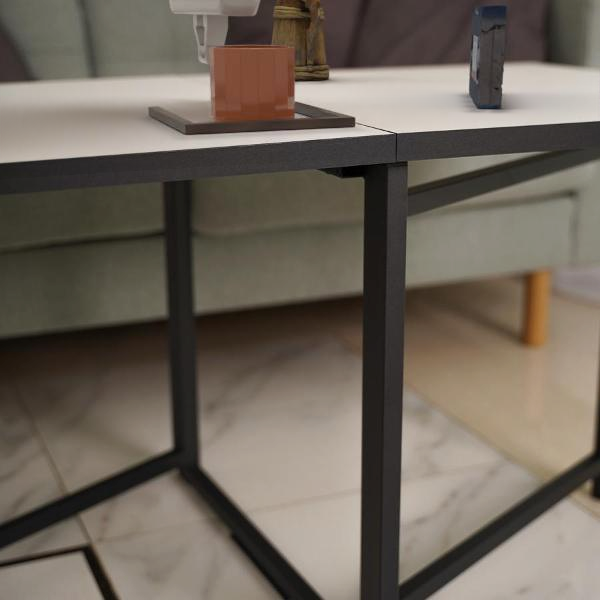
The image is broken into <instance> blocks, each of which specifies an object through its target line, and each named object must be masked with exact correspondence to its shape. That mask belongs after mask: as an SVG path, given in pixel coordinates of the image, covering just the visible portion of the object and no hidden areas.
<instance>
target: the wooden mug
mask: <svg viewBox="0 0 600 600" xmlns="http://www.w3.org/2000/svg"><path fill="white" fill-rule="evenodd" d="M275 4H276V5H275V6H274V7H273V14H272V15H273V16H272V17H273V18H274V21H273V30H272V36H271V37H272V38H271V44H270V45H283V46H294V47H295V82H307V81H324V80H328V79H330V66H329V64H327V55H326V46H325V36H324V35H325V34H324V25H323V23H324V22H323V20H325V13H324V9H323V7H322V5H321V0H276V3H275Z"/></svg>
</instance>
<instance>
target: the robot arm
mask: <svg viewBox="0 0 600 600" xmlns="http://www.w3.org/2000/svg"><path fill="white" fill-rule="evenodd" d="M168 3H169V8H170V10H171V13H172V14H174V15H192V19H193V20H192V21H193V22H192V23H193V31H194V35H195V39H196V43H197V51H198V52H197V57H198V58H197V59H198V61H199V62H200V63H201V64H205V65H208V66H210V56H209V47H211V46H222V45H225V42H226V39H227V35H228V34H227V33H228V30H229V17H254V16H256V15H257V13H258V11H259V8H260V3H261V0H168Z"/></svg>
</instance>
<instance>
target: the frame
mask: <svg viewBox="0 0 600 600" xmlns="http://www.w3.org/2000/svg"><path fill="white" fill-rule="evenodd" d="M147 109H148V116H150V117H152V118H153V119H156V120H157V121H160V122H161V123H163V124H166V125H167V126H169V127H171V128H173V129H175V130H177V131H179V132H181V133H183V135H200V134H202V135H203V134H220V133H223V134H224V133H225V134H226V133H242V132H243V133H244V132H245V133H246V132H265V131H285V130H307V129H308V130H309V129H328V128H329V129H330V128H349V127H350V128H351V127H352V128H353V127H356V117H355V116H353V115H348V114H344V113H341V112H337V111H333V110H330V109H326V108H322V107H318V106H315V105H311V104H308V103H303V102H300V101H295V113H297V114H299V115H300V114H301V115H304V116H308V117H295V118H292V119H268V120H245V121H221V122H212V121H202V122H201V121H200V122H193V121H191V120H188V119H186V118H184V117H182V116H179V115H178V114H175V113H173V112H171V111H169V110H166V109H164V108H162V107H160V106H148V108H147Z"/></svg>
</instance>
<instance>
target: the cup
mask: <svg viewBox="0 0 600 600" xmlns="http://www.w3.org/2000/svg"><path fill="white" fill-rule="evenodd" d="M209 56H210V65H209V85H210V86H209V88H210V115H211V122H221V121H245V120H268V119H292V118H296V117H295V116H296V112H295V102H296V81H295V47H294V46H283V45H271V44H228V45H227V44H224V45H222V46H211V47H209Z"/></svg>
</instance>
